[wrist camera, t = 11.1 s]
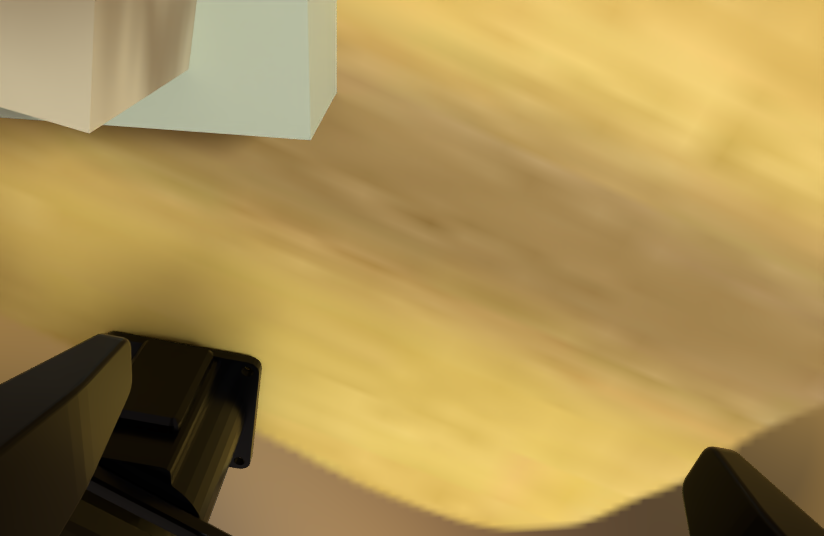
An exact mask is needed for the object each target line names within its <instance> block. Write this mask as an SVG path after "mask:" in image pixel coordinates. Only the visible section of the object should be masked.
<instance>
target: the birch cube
mask: <svg viewBox="0 0 824 536" xmlns="http://www.w3.org/2000/svg"><path fill="white" fill-rule="evenodd" d="M196 4H197V0H0V107H1V108H5V109H8V110H12V111H15V112H18V113H22V114H25V115H29V116H32V117H35V118H39V119H42V120H46V121H49V122H52V123H56V124H59V125H62V126H66V127H69V128H73V129H76V130H79V131H83V132H86V133H91V132H92V131H94V130H95V129H97V128H99V127H100V126H102V125H103V124H105V123H106V122H108V121H109V120H111V119H112V118H114V117H116V116H117V115H119V114H120V113H122V112H123V111H125V110H126V109H128V108H130V107H131V106H133V105H134V104H136V103H137V102H139V101H140V100H142V99H143V98H145V97H147V96H148V95H150V94H151V93H153V92H154V91H156V90H157V89H159V88H160V87H162V86H164V85H165V84H167V83H168V82H170V81H171V80H173V79H174V78H176V77H177V76H179V75H181V74H182V73H184V72H185V71H187V70H188V69H189V62H190V54H191V45H192V37H193V29H194V20H195V12H196Z"/></svg>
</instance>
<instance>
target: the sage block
mask: <svg viewBox="0 0 824 536" xmlns="http://www.w3.org/2000/svg"><path fill="white" fill-rule="evenodd" d="M336 93H337V0H197V4H196V12H195V20H194V29H193V37H192V45H191V54H190V62H189V69H188V70H187V71H185V72H184V73H182V74H181V75H179V76H177V77H176V78H174V79H173V80H171V81H170V82H168V83H167V84H165V85H164V86H162V87H160V88H159V89H157V90H156V91H154V92H153V93H151V94H150V95H148V96H147V97H145V98H143V99H142V100H140V101H139V102H137V103H136V104H134V105H133V106H131V107H130V108H128V109H126V110H125V111H123V112H122V113H120V114H119V115H117V116H116V117H114V118H112V119H111V120H109V121H108V122H106V123H105V124H103V125H111V126H125V127H139V128H152V129H166V130H180V131H193V132H207V133H221V134H234V135H248V136H262V137H275V138H289V139H303V140H311V139H312V137H313V135H314V133H315V131H316V129H317V128H318V126H319V124H320V122H321V120H322V118H323V117H324V115H325V113H326V111H327V109H328V107H329V106H330V104H331V102H332V100H333V98H334V96H335V95H336ZM0 117H2V118H15V119H29V120H42V119H39V118H35V117H32V116H29V115H25V114H22V113H18V112H15V111H12V110H8V109H5V108H1V107H0ZM43 121H46V120H43Z"/></svg>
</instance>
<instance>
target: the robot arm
mask: <svg viewBox="0 0 824 536" xmlns="http://www.w3.org/2000/svg"><path fill="white" fill-rule="evenodd" d="M245 367H249V368H251V369H252V370H248V369H246V368H245ZM261 370H262V366H261V363H260V361H259V360H257V359H256V358H254V357H251V356H246V355H240V354H235V353H230V352H224V351H219V350H213V349H208V348H202V347H197V346H192V345H186V344H181V343H175V342H170V341H165V340H159V339H154V338H148V337H143V336H137V335H132V334H127V333H121V332H110V333H108V334H98V335H96V336H93V337H92V338H90V339H88V340H86V341H84V342H82V343H80V344H78V345H76V346H74V347H72V348H70V349H68V350H66V351H64V352H62V353H60V354H59V355H57V356H54V357H53V358H51V359H49V360H47V361H45V362H43V363H41V364H39V365H37V366H35V367H33V368H31V369H30V370H27V371H25V372H23V373H21V374H19V375H17V376H15V377H14V378H12V379H10V380H8V381H6V382H4V383H2V384H0V536H232V535H230V534H228V533H226V532H224V531H222V530H220V529H219V528H217V527H215V526H213V525H211V524H209V523H208V521H209V519H210V516H211V513H212V511H213V508H214V505H215V503H216V500H217V497H218V494H219V492H220V489H221V486H222V484H223V481H224V478H225V475H226V473H227V470H228V468H229V467H233V468H240V469H243V468H246V467H248V466H249V464H250V461H251V459H252V454H253V445H254V435H255V426H256V417H257V407H258V398H259V389H260V379H261ZM239 457H240V458H239ZM682 494H683V501H684V507H685V513H686V518H687V524H688V530H689V535H690V536H824V529H823V528H822V527H821V526H820V525H819V524H818V523H816V522H815V521H814V520H813V519H812V518H811V517H810V516H809V515H807V514H806V513H805V512H804V511H803V510H802V509H800V508H799V507H798V506H797V505H796V504H795V503H794V502H793V501H792V500H790V499H789V498H788V497H787V496H786V495H785V494H784V493H783V492H781V491H780V490H779V489H778V488H777V487H776V486H775V485H773V484H772V483H771V482H770V481H769V480H768V479H767V478H766V477H764V476H763V475H762V474H761V473H760V472H759V471H758V470H757V469H755V468H754V467H753V466H752V465H751V464H750V463H749V462H748V461H746V460H745V459H744V458H743V457H742V456H741V455H740V454H738V453H737V452H735V451H733V450H729V449H724V448H719V447H708V448H706V449H705V450H704V451H703V452H702V453H701V455H700V456H699V458H698V459H697V461H696V462H695V464H694V465H693V467H692V469H691V470H690V472H689V473H688V475H687V476H686V478H685V480H684V483H683V488H682Z"/></svg>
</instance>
